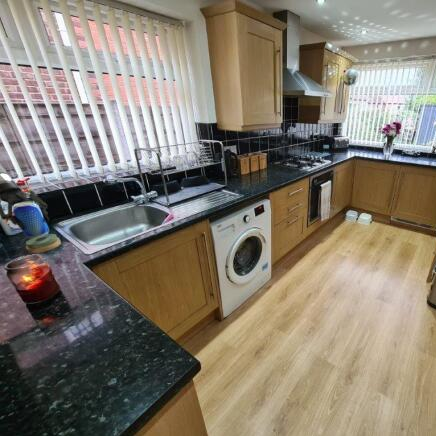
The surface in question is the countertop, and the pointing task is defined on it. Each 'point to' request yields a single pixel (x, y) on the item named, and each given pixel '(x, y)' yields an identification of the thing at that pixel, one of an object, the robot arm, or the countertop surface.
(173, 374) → the countertop surface
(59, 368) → the countertop surface
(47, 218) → the robot arm
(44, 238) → the green frosted donut
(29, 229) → the blue canister
